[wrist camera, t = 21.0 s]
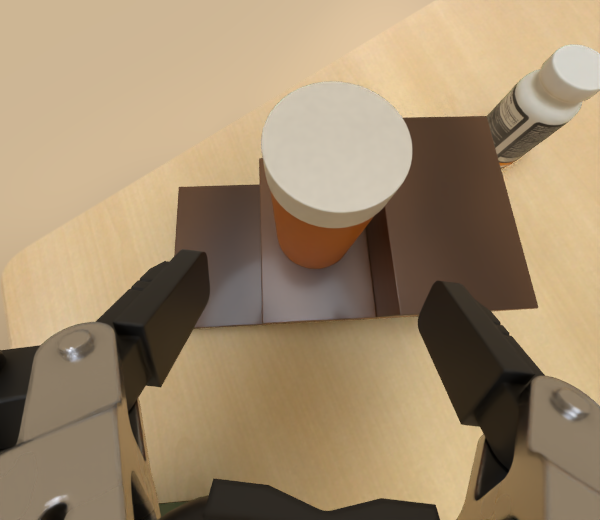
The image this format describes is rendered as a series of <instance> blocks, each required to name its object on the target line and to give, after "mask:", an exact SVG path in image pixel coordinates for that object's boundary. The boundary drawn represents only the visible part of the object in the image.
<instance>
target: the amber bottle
mask: <svg viewBox="0 0 600 520" xmlns="http://www.w3.org/2000/svg"><path fill="white" fill-rule="evenodd" d="M261 149H262V157H263V163H264V169H265V175H266V179H267V183H268V185H269V188H270V192H271V198H272V205H273V211H274V218H275V224H276V231H277V238H278V242H279V245H280V247H281V249H282V251H283V252H284V254H285V255H286V256H287V257H288V258H289V259H290V260H291V261H293V262H294V263H296V264H297V265H300V266H302V267H305V268H311V269H320V268H325V267H328V266H331V265H333V264H335V263H336V262H338V261H339V260H340V259H341V258H342V257H343V256H344V255H345V254H346V252H347V251H348V250H349V248H350V247H351V246H352V245H353V243H354V242H355V241H356V239H357V238H358V237H359V235H360V234H361V233H362V231H363V230H364V229H365V227H366V226H367V225H368V224H369V222H370V221H371V220H372V218H373V217H374V216H375V215H376V214H377V213H379V212H380V211H381V210H382V209H383V208H384V206H385V205H386V204H387V203H388V201H389V200H390V199H391V198H392V196H393V195H394V194H395V193H396V191H397V190H398V189H399V187H400V186H401V185H402V183H403V182H404V180H405V178H406V177H407V175H408V172H409V169H410V166H411V161H412V140H411V137H410V133H409V130H408V128H407V125H406V123H405V122H404V120H403V118H402V116H401V115H400V114H399V112H398V111H397V110H396V109H395V108H394V107H393V106H392V105H391V104H390V103H389V102H388V101H387V100H385V99H384V98H383V97H381V96H380V95H378V94H377V93H375V92H373V91H371V90H369V89H367V88H364V87H362V86H359V85H355V84H351V83H345V82H333V81H330V82H319V83H314V84H310V85H307V86H304V87H301V88H299V89H297V90H295V91H293V92H291V93H290V94H288V95H287V96H286V97H284V98H283V99H282V100H281V101H280V102H279V103H278V104H277V105H276V106H275V107H274V108H273V110H272V111H271V112H270V114H269V116H268V118H267V120H266V122H265V125H264V128H263V132H262V138H261Z"/></svg>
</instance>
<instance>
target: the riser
mask: <svg viewBox="0 0 600 520" xmlns="http://www.w3.org/2000/svg"><path fill="white" fill-rule="evenodd" d="M403 120H404V122H405V123H406V125H407V128H408V130H409V133H410V137H411V140H412V161H411V166H410V169H409V172H408V175H407V177H406V178H405V180H404V182H403V183H402V185H401V186H400V187H399V189H398V190H397V191H396V193H395V194H394V195H393V196H392V198H391V199H390V200H389V201H388V203H387V204H386V205H385V206H384V208H383V209H382V210H381V211H380V212H379V213H377V214H376V215H375V216H374V217H373V218H372V220H371V221H370V222H369V224H368V225H367V226H366V227H365V229H364V230H363V231H362V233H361V234H360V235H359V237H358V238H357V239H356V241H355V242H354V243H353V245H352V246H351V247H350V248H349V250H348V251H347V252H346V254H345V255H344V256H343V257H342V258H341V259H340V260H339V261H338V262H336V263H335V264H333V265H331V266H328V267H325V268H320V269H311V268H305V267H302V266H300V265H297V264H296V263H294V262H293V261H291V260H290V259H289V258H288V257H287V256H286V255H285V254H284V252H283V251H282V249H281V247H280V245H279V242H278V238H277V231H276V224H275V218H274V211H273V205H272V198H271V192H270V188H269V185H268V183H267V179H266V175H265V169H264V163H263V158H260V159H259V176H260V185H231V186H198V187H179V194H178V209H177V224H176V240H175V255H176V254H177V253H178V252H179V251H180V250H182V249H186V250H195V251H203V252H206V254H207V258H208V269H209V280H210V296H209V300H208V303H207V305H206V307H205V309H204V311H203V312H202V314H201V316H200V318H199V319H198V321H197V323H196V325H195V327H194V328H193V329H195V328H213V327H231V326H250V325H268V324H286V323H305V322H323V321H341V320H359V319H378V318H396V317H414V316H419V314H420V311H421V309H422V307H423V305H424V302H425V300H426V298H427V296H428V294H429V291H430V289H431V287H432V285H433V284H434V283H435V282H436V281H445V282H454V283H460V284H462V285H464V287H465V288H466V289H467V290H468V292H469V293H470V294H471V295H472V296H473V298H474V299H475V300H477V301H478V302H479V303H481V304H482V305H483V306H485V307H486V308H487V309H489V310H490V311H505V310H520V309H534V308H538V304H537V301H536V297H535V293H534V290H533V286H532V282H531V279H530V275H529V271H528V267H527V264H526V260H525V256H524V253H523V249H522V245H521V242H520V238H519V234H518V230H517V227H516V223H515V219H514V216H513V212H512V208H511V205H510V201H509V197H508V193H507V190H506V186H505V182H504V179H503V175H502V171H501V167H500V164H499V160H498V156H497V153H496V149H495V145H494V142H493V138H492V134H491V130H490V127H489V123H488V119H487V116H471V117H418V118H403ZM175 255H174V256H175Z"/></svg>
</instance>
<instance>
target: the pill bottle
mask: <svg viewBox="0 0 600 520" xmlns="http://www.w3.org/2000/svg"><path fill="white" fill-rule="evenodd" d="M599 91H600V54H599V53H598V52H596V51H595V50H593V49H591V48H589V47H586V46H582V45H566V46H563V47H561V48H559V49H558V50H557V51H555V52H554V53H553V54H552V55H551V56H550V57H549V58H548V59H547V60H546V61H545V62H544V63H543V65H542V67H541V69H539V70H536V71H533V72H531V73H529V74H527V75H526V76H524V77H523V78H522V79H521V80H520V81H519V82H518V83H517V84H516V85H515V86H514V87H513V88H512V90H511V91H510V92H509V93H508V94H507V95H506V96H505V97H504V98H503V99H502V100H501V102H500V103H499V104H498V105H497V106H496V107H495V108H494V109H493V110H492V111H491V112H490V113H489V114H488V116H487V119H488V123H489V127H490V130H491V134H492V138H493V142H494V145H495V149H496V153H497V156H498V160H499V164H500V167H505V166H508V165H510V164H512V163H513V162H515V161H516V160H517V159H519V158H520V157H522V156H523V155H524V154H526V153H527V152H528V151H530V150H531V149H532V148H534V147H535V146H536V145H538V144H539V143H540V142H542V141H543V140H545V139H546V138H547V137H549V136H550V135H551V134H553V133H554V132H555V131H557V130H558V129H559V128H561V127H562V126H563V125H565V124H566V123H567V122H569V121H570V120H571V119H572V118H573V117H574V116H575V115H576V114H577V113H578V111H579V110H580V108H581V105H582V101H585V100H588V99H589V98H591V97H592V96H594V95H595V94H596V93H597V92H599Z"/></svg>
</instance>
